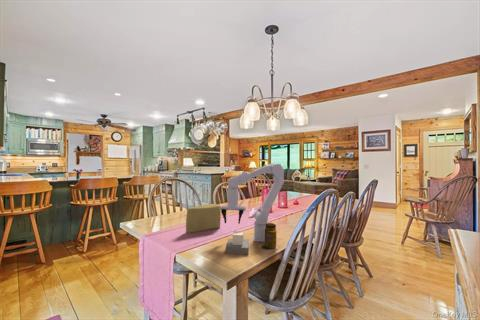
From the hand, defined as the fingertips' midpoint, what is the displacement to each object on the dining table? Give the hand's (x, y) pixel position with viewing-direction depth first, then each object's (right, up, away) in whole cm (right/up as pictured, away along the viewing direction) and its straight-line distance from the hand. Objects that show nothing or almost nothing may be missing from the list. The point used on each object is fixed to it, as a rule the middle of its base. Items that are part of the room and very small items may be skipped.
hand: (232, 222), depth 124 cm
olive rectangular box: (-20, -9, +17) cm, 27 cm away
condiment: (+19, -10, -10) cm, 24 cm away
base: (+3, -10, -12) cm, 16 cm away
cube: (+3, -7, -12) cm, 14 cm away
